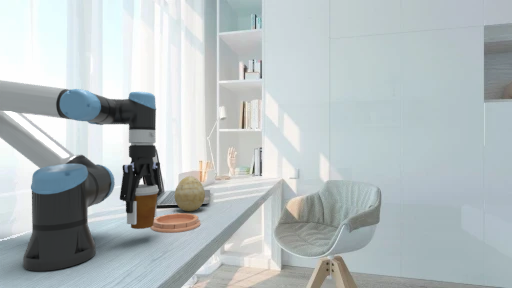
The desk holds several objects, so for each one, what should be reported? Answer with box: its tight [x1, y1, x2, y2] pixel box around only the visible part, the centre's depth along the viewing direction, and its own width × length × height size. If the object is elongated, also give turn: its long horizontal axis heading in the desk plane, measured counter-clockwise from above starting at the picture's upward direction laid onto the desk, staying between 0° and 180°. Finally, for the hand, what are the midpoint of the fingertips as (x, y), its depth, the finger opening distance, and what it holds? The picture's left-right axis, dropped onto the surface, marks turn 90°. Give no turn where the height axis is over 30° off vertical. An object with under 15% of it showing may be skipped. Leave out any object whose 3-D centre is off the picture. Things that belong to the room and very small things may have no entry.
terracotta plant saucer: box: [149, 212, 201, 234], centre depth 105 cm, size 17×17×2 cm
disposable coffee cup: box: [130, 183, 159, 230], centre depth 89 cm, size 10×10×12 cm
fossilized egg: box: [174, 175, 206, 213], centre depth 127 cm, size 13×13×15 cm
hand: (142, 220), depth 89 cm, fingers closed on disposable coffee cup, 8 cm apart
